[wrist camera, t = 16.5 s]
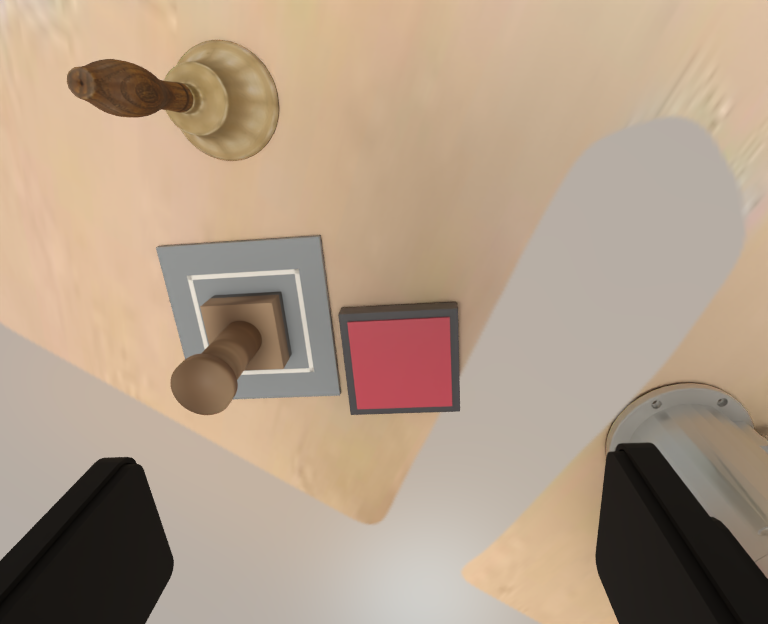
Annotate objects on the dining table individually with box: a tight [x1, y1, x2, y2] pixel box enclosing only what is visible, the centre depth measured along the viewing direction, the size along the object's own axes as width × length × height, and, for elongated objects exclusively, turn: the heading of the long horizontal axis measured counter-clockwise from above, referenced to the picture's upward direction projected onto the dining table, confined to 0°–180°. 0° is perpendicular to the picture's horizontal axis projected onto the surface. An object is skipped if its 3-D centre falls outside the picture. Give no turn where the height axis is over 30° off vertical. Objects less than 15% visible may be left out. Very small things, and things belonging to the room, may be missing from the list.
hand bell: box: [67, 40, 279, 161], centre depth 27 cm, size 8×8×16 cm
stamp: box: [171, 292, 292, 415], centre depth 36 cm, size 6×6×11 cm
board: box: [156, 235, 341, 399], centre depth 41 cm, size 14×15×1 cm
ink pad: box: [339, 302, 460, 415], centre depth 41 cm, size 10×10×2 cm
